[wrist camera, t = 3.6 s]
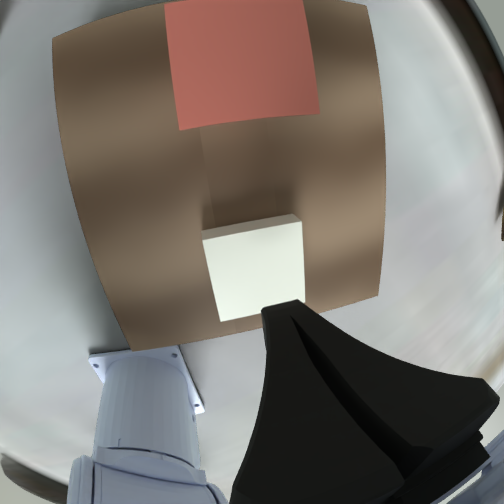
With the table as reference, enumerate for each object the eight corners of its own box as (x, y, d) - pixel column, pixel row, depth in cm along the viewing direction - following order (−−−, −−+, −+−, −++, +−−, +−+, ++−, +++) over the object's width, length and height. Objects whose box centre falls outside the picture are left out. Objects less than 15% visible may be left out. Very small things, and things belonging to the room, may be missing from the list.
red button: (275, 118, 13) (320, 113, 8) (184, 131, 12) (179, 130, 8) (263, 37, 11) (301, -3, 6) (172, 46, 10) (163, 4, 6)
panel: (350, 268, 21) (378, 295, 18) (139, 313, 19) (132, 351, 15) (334, 23, 13) (366, 5, 10) (79, 54, 11) (52, 38, 8)
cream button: (277, 259, 19) (305, 302, 14) (211, 272, 19) (220, 321, 14) (270, 194, 17) (301, 221, 13) (198, 207, 17) (202, 240, 12)
